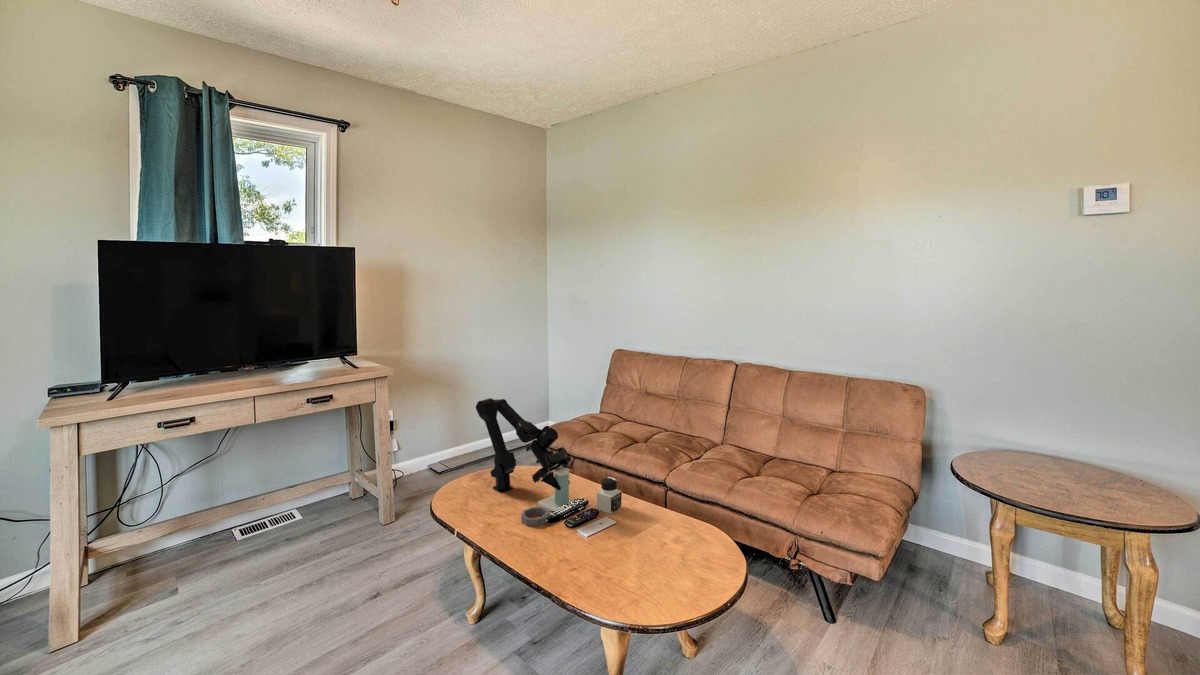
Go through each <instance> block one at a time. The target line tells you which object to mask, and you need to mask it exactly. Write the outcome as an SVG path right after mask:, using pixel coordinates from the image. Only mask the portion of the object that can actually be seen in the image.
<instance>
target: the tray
mask: <svg viewBox="0 0 1200 675" xmlns="http://www.w3.org/2000/svg"><path fill="white" fill-rule="evenodd" d="M570 501H572V500H570V499H569V502H570ZM537 505H538V506H539V507H542V508H544V509H546V510H548V512H550V511H555V510H556V509H557V508H559V507H561V505H557V504H555V494H553V495H551V496H548V497H546V498H543V499H540V500H538V501H537ZM562 506H563V505H562ZM582 508H584V506H582V507H581V508H579V509H578V510H581V509H582ZM573 512H574V511H573ZM566 515H567V514H566ZM564 516H565V515H564Z"/></svg>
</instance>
